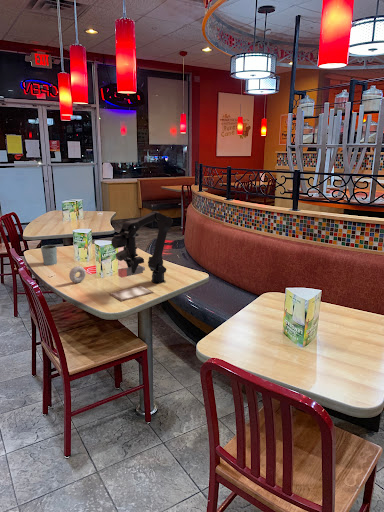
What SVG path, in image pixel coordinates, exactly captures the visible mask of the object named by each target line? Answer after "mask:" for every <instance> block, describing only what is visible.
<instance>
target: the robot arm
mask: <svg viewBox="0 0 384 512" xmlns="http://www.w3.org/2000/svg"><path fill="white" fill-rule="evenodd" d="M153 221H155V222H157V225H156V226H157V228H158V232H157V236H156V242H155V245H154V246H155V247H154V250H153V254H152V255H151V256H149V257H148V261H147V266H148V268H149V270H150V271H151V273H152V274H151V280H150V281H151V282H152V283H154V284H156V285H158V284H163V283H165V282H167V281H166V280H165V273H167V268H166V267H165V266H164V259H163V252H164V247H165V244H166V237H167V234H168V232H169V231H170V229H171V228H172V225H173V222H174V221H173V219H172V217H171V216H167V215H164V214H162V213H161V212H159V211H155V210H153V211H151V212H149V213H147V214H145V215H142V216H141V217H139V218H137V219H133V220H131V219H130V220H128V221H126V220H125V221H124V222H123V223H122V227H121V229H120V231H119V232H118V234H117V235H116V234H114V235H113V237H112V239H111V243H110V244H111V246H112V248H113V249H120V248H123V249H121V250H120V251H118V252H116V253H115V257H116V259H117V261H119V262H122V261H124V263H125V264H126V267H127V268H128V267H131V268H132V273H135V271H136V269H137V267H138V265H140V264H144V263H145V259H144V258H143V256H139V254H138V253H137V249H138V246H137V245H136V244H137V241H136V237H139V236H140V235H139V233H137V232H138V231H140V228H142V227H143V226H145V225H147V224H150V223H152V222H153Z"/></svg>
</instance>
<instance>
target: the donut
mask: <svg viewBox="0 0 384 512" xmlns="http://www.w3.org/2000/svg"><path fill="white" fill-rule="evenodd" d="M77 273H79V275H78V276H76V274H77ZM68 277H69V279H70V281H71V282H73V283H75V284H76V283H78V284H79V283H81V282H82V281H84V279H85V278H86V269H85V268H84V267H83V266H80V265H79V266H77V265H76V266H74V267H72V268H71V269H70V271H69V275H68Z"/></svg>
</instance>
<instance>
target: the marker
mask: <svg viewBox="0 0 384 512" xmlns="http://www.w3.org/2000/svg"><path fill="white" fill-rule="evenodd" d="M117 271H118V272H117V274H118V275H117V276H118V277H119V278H126V277H130V276H135V275H138V274H139V275H140V274H143V273H144V271H146V267H145V266H142V265H140V264H139V265H138V267H137V269H136V271H135V273H132V268H131V267H128V266H127V267H124V268H122V267H121V268H118V269H117Z"/></svg>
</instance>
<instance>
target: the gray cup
mask: <svg viewBox="0 0 384 512" xmlns="http://www.w3.org/2000/svg"><path fill="white" fill-rule="evenodd" d="M57 248H58V247H57V245H55V244H46V245H41V247H40V250H41V255H42V261H43V265H44V266H54V264H55V265H57V264H58V254H57V253H58V252H57V251H58V250H57Z"/></svg>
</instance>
